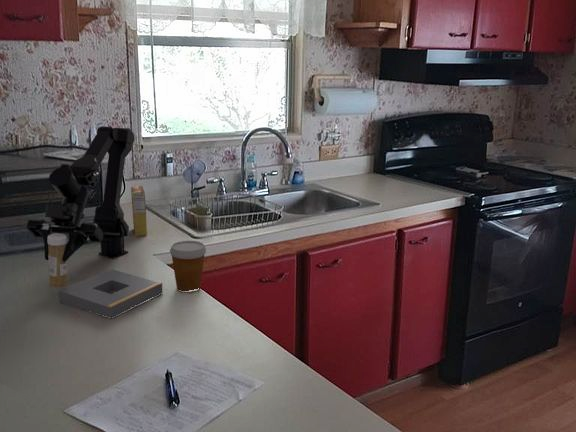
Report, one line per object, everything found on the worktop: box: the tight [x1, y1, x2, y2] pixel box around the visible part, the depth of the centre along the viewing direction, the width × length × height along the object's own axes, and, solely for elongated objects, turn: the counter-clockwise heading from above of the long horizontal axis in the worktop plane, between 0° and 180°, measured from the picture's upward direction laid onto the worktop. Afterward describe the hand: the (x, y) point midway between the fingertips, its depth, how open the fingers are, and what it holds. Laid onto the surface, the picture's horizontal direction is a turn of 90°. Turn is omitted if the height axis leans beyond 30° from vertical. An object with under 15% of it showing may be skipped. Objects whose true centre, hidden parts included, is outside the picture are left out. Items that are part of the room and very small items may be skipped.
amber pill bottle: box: [47, 233, 69, 289], centre depth 153 cm, size 5×5×14 cm
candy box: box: [130, 185, 148, 237], centre depth 206 cm, size 9×4×15 cm, turn 17°
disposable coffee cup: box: [169, 240, 207, 292], centre depth 161 cm, size 10×10×12 cm
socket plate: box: [57, 269, 164, 318], centre depth 155 cm, size 18×18×3 cm
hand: (55, 260), depth 152 cm, fingers closed on amber pill bottle, 4 cm apart
